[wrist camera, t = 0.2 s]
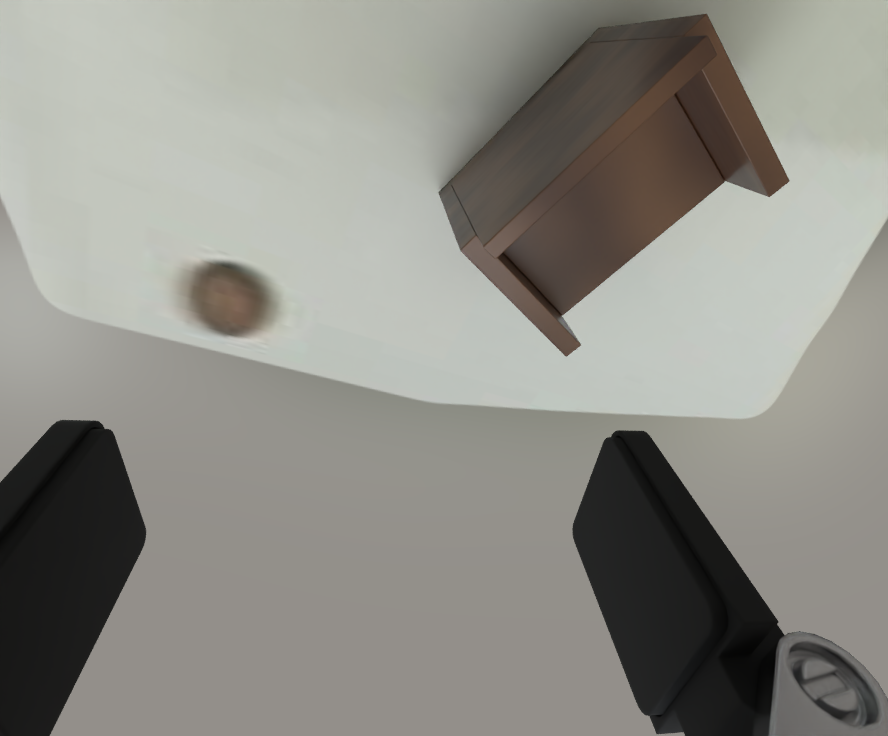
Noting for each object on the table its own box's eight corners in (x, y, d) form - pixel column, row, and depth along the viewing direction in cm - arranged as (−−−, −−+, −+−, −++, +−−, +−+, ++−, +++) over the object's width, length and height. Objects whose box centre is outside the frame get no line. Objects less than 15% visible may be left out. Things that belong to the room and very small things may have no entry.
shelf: (598, 27, 32) (734, 9, 20) (670, 144, 37) (818, 189, 24) (438, 193, 37) (464, 263, 24) (519, 278, 41) (576, 374, 29)
